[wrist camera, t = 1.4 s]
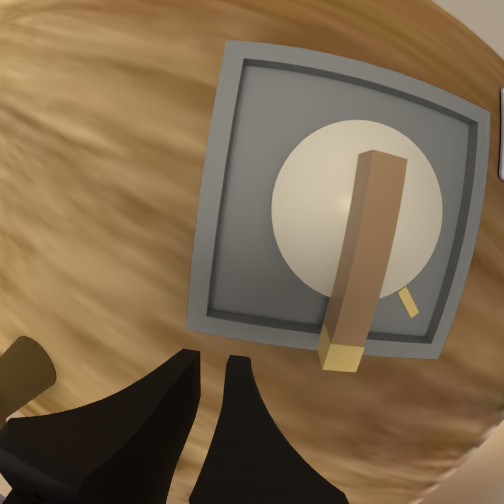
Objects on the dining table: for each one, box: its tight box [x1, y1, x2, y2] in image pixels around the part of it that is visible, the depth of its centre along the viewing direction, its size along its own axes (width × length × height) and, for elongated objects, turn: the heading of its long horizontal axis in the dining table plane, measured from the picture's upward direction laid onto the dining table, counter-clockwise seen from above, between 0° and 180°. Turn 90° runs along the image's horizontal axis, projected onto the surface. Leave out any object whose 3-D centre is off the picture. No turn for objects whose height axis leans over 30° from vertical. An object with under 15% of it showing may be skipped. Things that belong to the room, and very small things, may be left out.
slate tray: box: [186, 40, 490, 359], centre depth 17 cm, size 18×18×2 cm
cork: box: [0, 336, 56, 429], centre depth 18 cm, size 6×6×11 cm
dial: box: [271, 120, 443, 372], centre depth 15 cm, size 10×13×4 cm
